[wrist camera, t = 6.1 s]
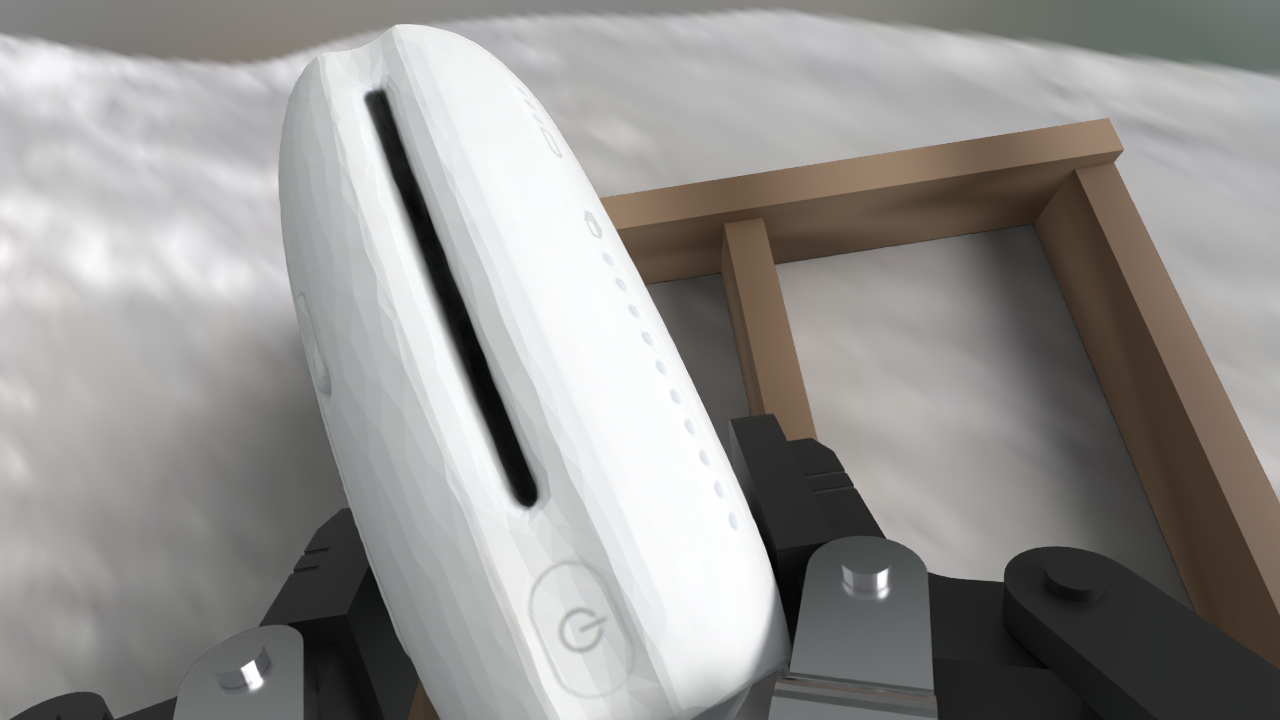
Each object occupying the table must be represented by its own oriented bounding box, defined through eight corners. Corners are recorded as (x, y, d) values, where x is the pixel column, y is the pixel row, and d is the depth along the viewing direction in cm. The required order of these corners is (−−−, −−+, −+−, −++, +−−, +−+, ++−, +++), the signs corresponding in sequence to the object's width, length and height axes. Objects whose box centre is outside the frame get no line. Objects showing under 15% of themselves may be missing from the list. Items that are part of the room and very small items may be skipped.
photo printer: (782, 676, 17) (906, 701, 6) (609, 760, 17) (366, 969, 5) (608, 310, 21) (471, -114, 10) (465, 373, 21) (148, 14, 9)
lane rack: (1055, 189, 22) (1108, 117, 19) (1283, 707, 16) (1404, 713, 13) (408, 290, 22) (367, 234, 19) (419, 840, 16) (363, 873, 14)
